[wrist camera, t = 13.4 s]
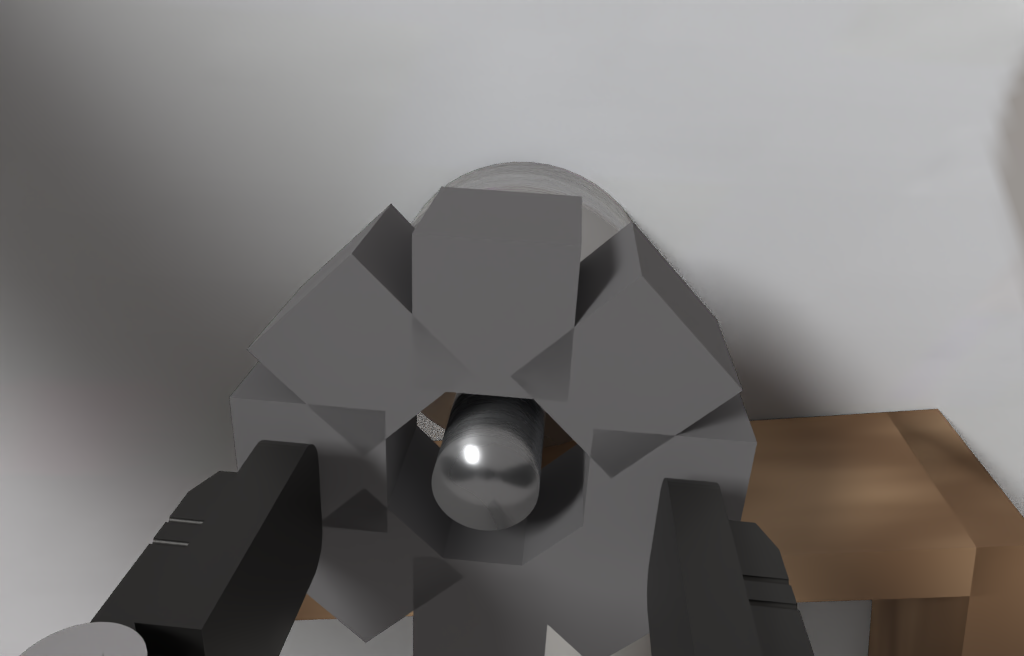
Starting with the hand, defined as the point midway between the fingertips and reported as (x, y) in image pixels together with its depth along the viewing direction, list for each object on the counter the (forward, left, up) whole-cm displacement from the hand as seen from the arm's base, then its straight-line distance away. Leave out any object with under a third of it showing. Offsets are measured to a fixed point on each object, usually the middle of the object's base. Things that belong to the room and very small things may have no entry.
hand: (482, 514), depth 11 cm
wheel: (0, 0, -3) cm, 3 cm away
